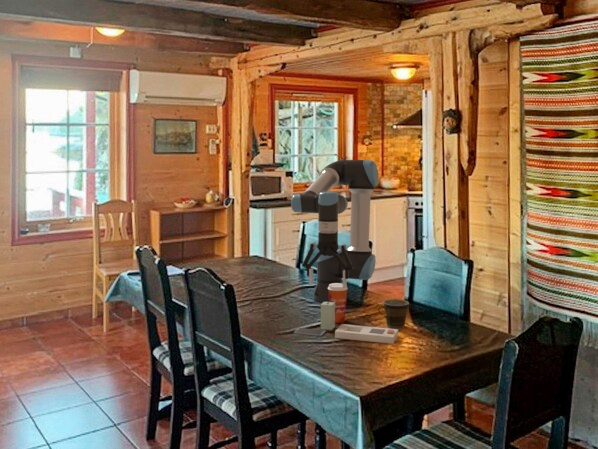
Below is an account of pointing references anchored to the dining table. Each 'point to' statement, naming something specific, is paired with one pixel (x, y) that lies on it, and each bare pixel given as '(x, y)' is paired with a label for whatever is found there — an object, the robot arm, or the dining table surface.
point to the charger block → (327, 315)
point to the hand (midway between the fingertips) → (327, 285)
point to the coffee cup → (338, 300)
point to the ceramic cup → (395, 313)
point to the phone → (310, 332)
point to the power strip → (366, 333)
